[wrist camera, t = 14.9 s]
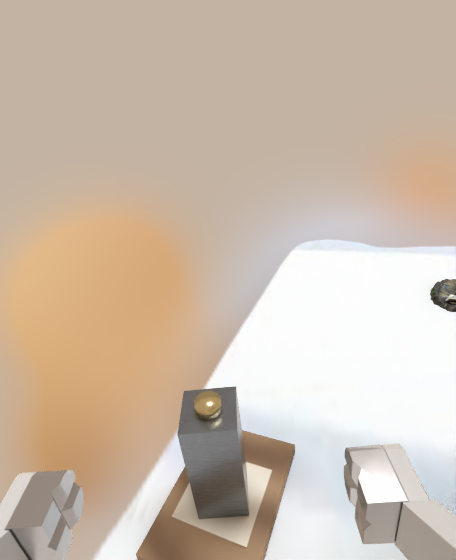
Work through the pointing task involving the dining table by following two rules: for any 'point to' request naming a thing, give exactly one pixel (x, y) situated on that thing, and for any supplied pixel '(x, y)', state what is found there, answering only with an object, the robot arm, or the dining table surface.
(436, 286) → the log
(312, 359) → the dining table surface
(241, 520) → the walnut board
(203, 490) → the block
